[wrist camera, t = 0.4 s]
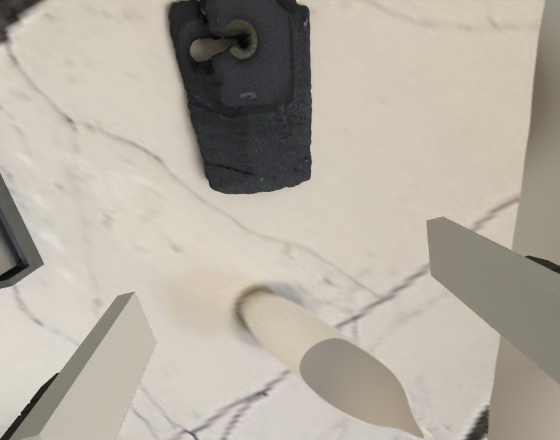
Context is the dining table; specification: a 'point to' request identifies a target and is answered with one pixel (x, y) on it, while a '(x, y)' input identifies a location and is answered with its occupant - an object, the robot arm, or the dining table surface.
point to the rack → (14, 243)
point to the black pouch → (249, 91)
